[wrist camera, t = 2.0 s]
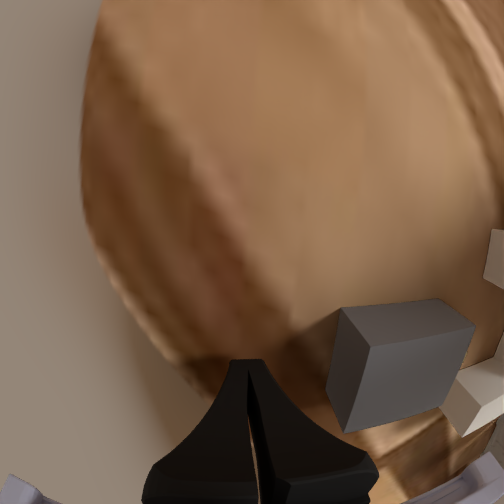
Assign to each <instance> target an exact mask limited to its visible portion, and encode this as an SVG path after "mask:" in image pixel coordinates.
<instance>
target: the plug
mask: <svg viewBox="0 0 504 504" xmlns="http://www.w3.org/2000/svg"><path fill="white" fill-rule="evenodd" d="M475 328H476V325H475V324H473V323H472V322H471V321H469V320H468V319H467V318H465V317H464V316H462V315H461V314H460V313H458V312H457V311H456V310H454V309H453V308H451V307H450V306H448V305H447V304H446V303H444V302H443V301H441V300H440V299H430V300H421V301H412V302H402V303H392V304H381V305H369V306H356V307H341V308H340V315H339V321H338V327H337V333H336V339H335V344H334V349H333V355H332V360H331V365H330V369H329V374H328V379H327V383H326V388H325V390H326V393H327V395H328V398H329V400H330V402H331V405H332V407H333V410H334V412H335V414H336V417H337V419H338V422H339V424H340V427H341V429H342V431H343V434H344V433H349V432H354V431H359V430H363V429H367V428H371V427H376V426H379V425H383V424H387V423H391V422H394V421H398V420H401V419H404V418H408V417H411V416H414V415H417V414H420V413H423V412H426V411H428V410H431V409H434V408H437V407H439V406H442V404H443V402H444V400H445V399H446V397H447V395H448V393H449V391H450V389H451V386H452V384H453V382H454V380H455V378H456V376H457V374H458V371H459V369H460V367H461V364H462V363H464V360H465V358H466V355H467V353H468V351H467V350H468V347H469V344H470V342H471V339H472V336H473V333H474V331H475Z"/></svg>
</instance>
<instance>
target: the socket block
mask: <svg viewBox="0 0 504 504" xmlns="http://www.w3.org/2000/svg"><path fill="white" fill-rule="evenodd" d="M483 279H485V280H487V281H489V282H491V283H493V284H495V285H496V286H498V287H500V288H502V289H504V230H499V229H492V230H491V237H490V243H489V249H488V255H487V260H486V265H485V270H484V274H483ZM439 408H440V410H441V411H442V412H443V414H444V415H445V416H446V417H447V419H448V420H449V421H450V423H451V424H452V425H453V427H454V428H455V429H456V431H457V432H458V433H459V435H460V436H461V437H464V436H466V435H468V434H470V433H471V432H473V431H475V430H477V429H479V428H480V427H482V426H484V425H485V424H487V423H489V422H490V421H492V420H494V419H495V418H497V417H498V416H500V415H501V414H503V413H504V332H503V335H502V337H501V340H500V343H499V345H498V347H497V350H496V352H495V355H494V357H492V358H490V359H487V360H485V361H483V362H480V363H478V364H475V365H472V366H470V367H467V368H464V369H462V370H459V371H458V374H457V376H456V378H455V380H454V382H453V384H452V386H451V389H450V391H449V393H448V395H447V397H446V399H445V400H444V402H443V404H442V406H439Z"/></svg>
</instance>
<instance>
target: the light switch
mask: <svg viewBox="0 0 504 504" xmlns="http://www.w3.org/2000/svg"><path fill="white" fill-rule="evenodd" d="M496 425H497V426H496V428H495V430H494V432H493V434H492V436H491V438H490V440H489V442H488V444H487V446H486V448H485V450H484V452H482V453H481V455H480V457H481V456H482V455H484V454H485V453H487V452H491V454H492V455H493V456H494V458H495V459H496V460H497V462H498V463H499V464H500V466H501V467H502V468H503V470H504V414H503V415H502V416H500V417H499V418H498V420H497V422H496Z"/></svg>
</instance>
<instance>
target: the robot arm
mask: <svg viewBox="0 0 504 504" xmlns="http://www.w3.org/2000/svg"><path fill="white" fill-rule="evenodd" d="M248 417H249V423H250V428H251V433H252V438H253V443H254V448H255V453H256V459H257V468H258V479H259V490H260V502H261V504H369V503H370V498H369V495H368V492H369V491H370V490H371V489H372V487H373V486H374V485H375V483H376V482H377V480H378V478H379V472H378V470H377V468H376V466H375V464H374V462H373V461H372V459H371V458H370V456H369V455H368V453H367V452H366V451H364V450H361V449H359V448H357V447H354V446H352V445H350V444H348V443H346V442H344V441H342V440H340V439H338V438H336V437H335V436H333V435H332V434H330V433H329V432H327V431H326V430H324V429H323V428H321V427H320V426H318V425H317V424H316V423H315V422H313V421H312V420H311V419H310V418H308V417H307V416H306V415H305V414H304V413H303V412H302V411H301V410H300V409H299V408H298V407H297V406H296V405H295V404H294V403H293V402H292V401H291V400H290V399H289V398H288V396H287V395H286V394H285V393H284V392H283V390H282V389H281V388H280V386H279V385H278V384H277V382H276V381H275V379H274V378H273V376H272V375H271V373H270V372H269V370H268V368H267V366H266V364H265V362H264V361H263V360H262V359H240V360H231V361H230V363H229V368H228V372H227V375H226V378H225V380H224V382H223V385H222V387H221V389H220V391H219V393H218V395H217V397H216V399H215V400H214V402H213V404H212V405H211V407H210V409H209V410H208V412H207V413H206V415H205V416H204V417H203V419H202V420H201V421H200V423H199V424H198V425H197V426H196V427H195V429H194V430H193V431H192V432H191V433H190V434H189V435H188V436H187V437H186V438H185V439H184V440H183V442H181V443H180V444H179V445H178V446H177V447H176V448H175V449H173V450H172V451H171V452H170V453H169V454H167V455H166V456H165V457H163V458H162V459H160V460H159V461H158V462H156V463H155V464H154V465H153V466H152V469H151V470H150V472H149V474H148V476H147V479H146V482H145V485H144V489H143V494H142V499H141V501H142V503H143V504H258V488H257V480H256V474H255V469H254V462H253V456H252V448H251V441H250V433H249V425H248ZM503 495H504V470H503V468H502V467H501V466H500V464H499V463H498V462H497V460H496V459H495V458H494V456H493V455H492V454H491V452H487V453H485V454H484V455H482V456H481V457H479V458H478V459H476V460H475V461H473V462H472V463H471V464H469V465H468V466H467V467H466V468H465V469H464V471H463V472H462V474H460V475H459V476H457V477H455V478H453V479H452V480H450V481H448V482H446V483H444V484H442V485H440V486H438V487H436V488H434V489H432V490H430V491H428V492H426V493H424V494H422V495H420V496H417V497H415V498H413V499H410V500H408V501H406V502H403V503H401V504H493V503H495V502H496V501H497V500H498V499H499V498H500V497H501V496H503ZM0 504H61V503H59V502H57V501H54V500H52V499H49V498H47V497H45V496H43V494H42V493H41V492H40V491H39V490H38V489H37V488H35V487H34V486H32V485H31V484H29V483H27V482H25V481H24V480H22V479H20V478H18V477H16V476H14V475H12V474H9V476H8V478H7V480H6V482H5V484H4V486H3V488H2V490H1V492H0Z"/></svg>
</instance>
